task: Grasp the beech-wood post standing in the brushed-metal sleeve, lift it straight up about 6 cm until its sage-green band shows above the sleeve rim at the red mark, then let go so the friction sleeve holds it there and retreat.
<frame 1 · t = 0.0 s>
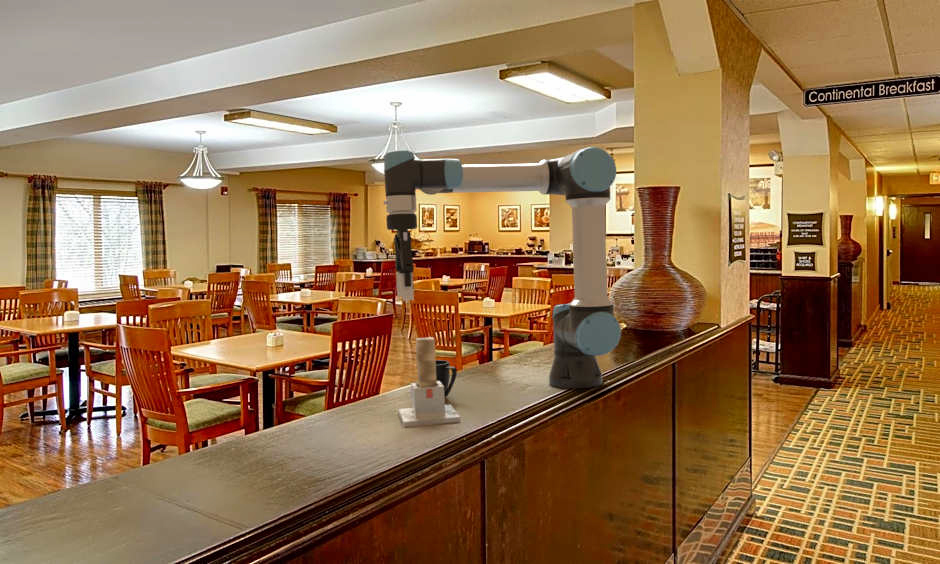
hand: (405, 298, 169), 28 cm above the table, fingers open, 13 cm apart
mug: (440, 398, 182), on the table
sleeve: (428, 417, 161), on the table
post: (426, 378, 160), point 10 cm above the table, slide at 0.0 cm
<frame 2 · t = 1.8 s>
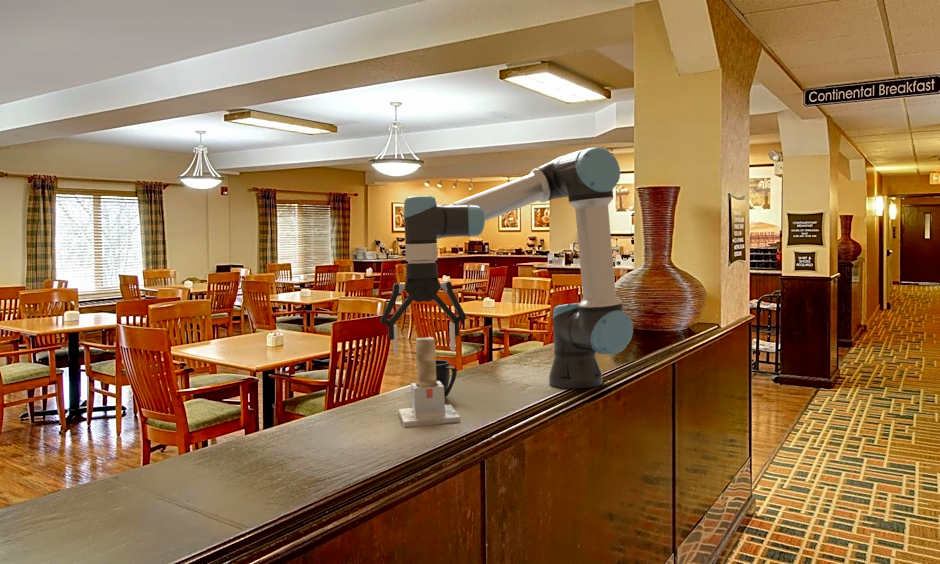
hand: (424, 351, 160), 16 cm above the table, fingers open, 13 cm apart
nothing on the table moved.
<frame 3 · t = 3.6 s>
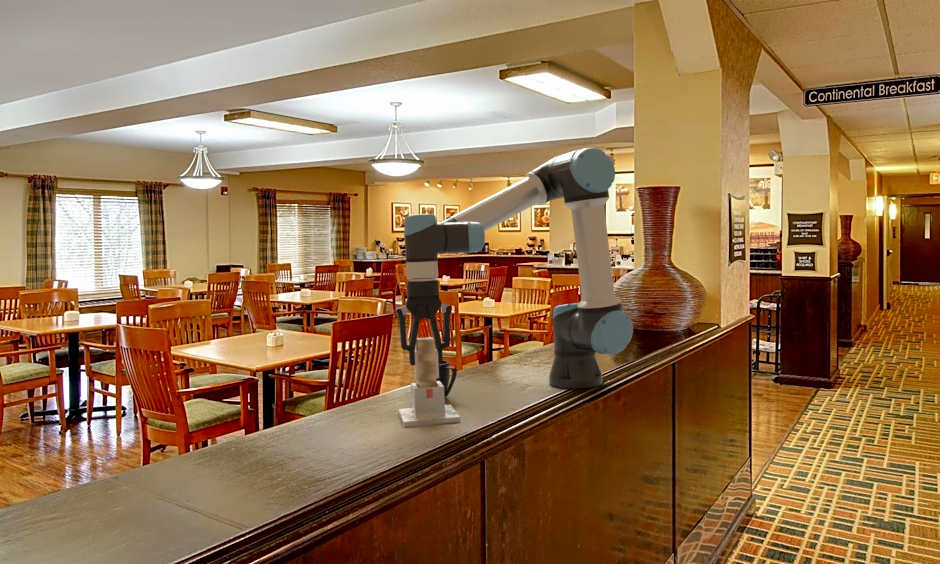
hand: (426, 377, 160), 10 cm above the table, fingers closed on post, 4 cm apart
post: (426, 378, 160), point 9 cm above the table, slide at 0.0 cm, touching gripper
everything else where it was.
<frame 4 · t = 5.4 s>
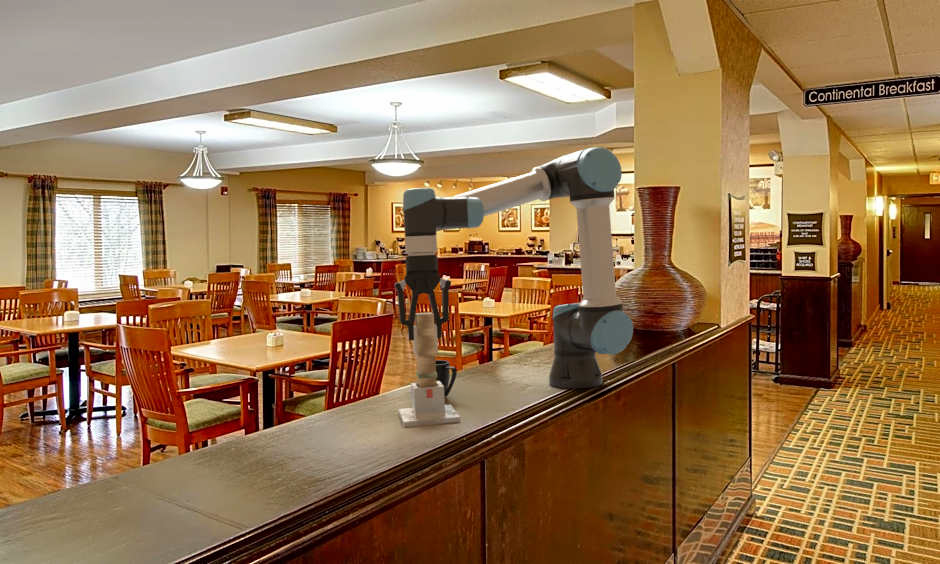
hand: (425, 352, 160), 16 cm above the table, fingers closed on post, 4 cm apart
post: (425, 353, 160), point 15 cm above the table, slide at 6.0 cm, touching gripper
everything else where it was.
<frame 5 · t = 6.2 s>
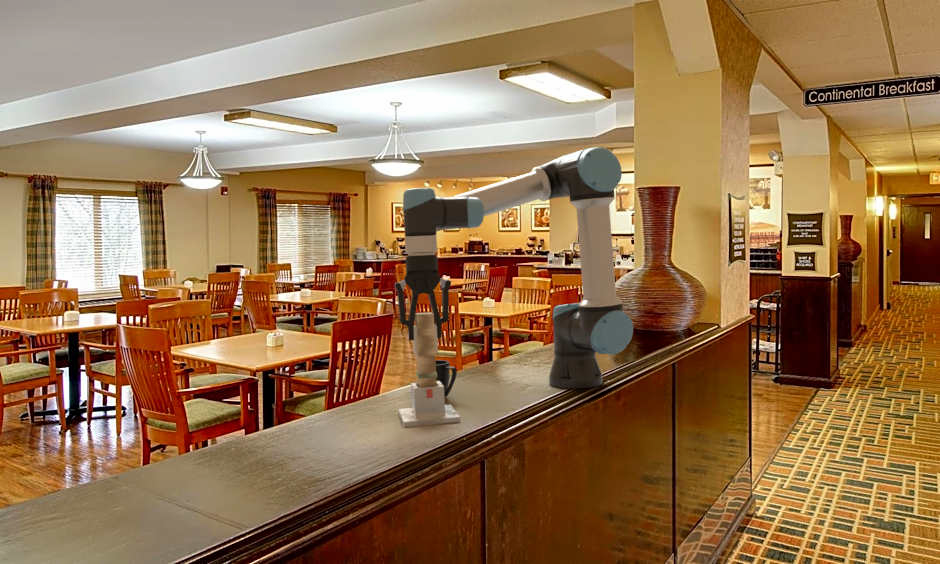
hand: (425, 352, 160), 16 cm above the table, fingers closed on post, 4 cm apart
post: (425, 353, 160), point 15 cm above the table, slide at 6.0 cm, touching gripper
everything else where it was.
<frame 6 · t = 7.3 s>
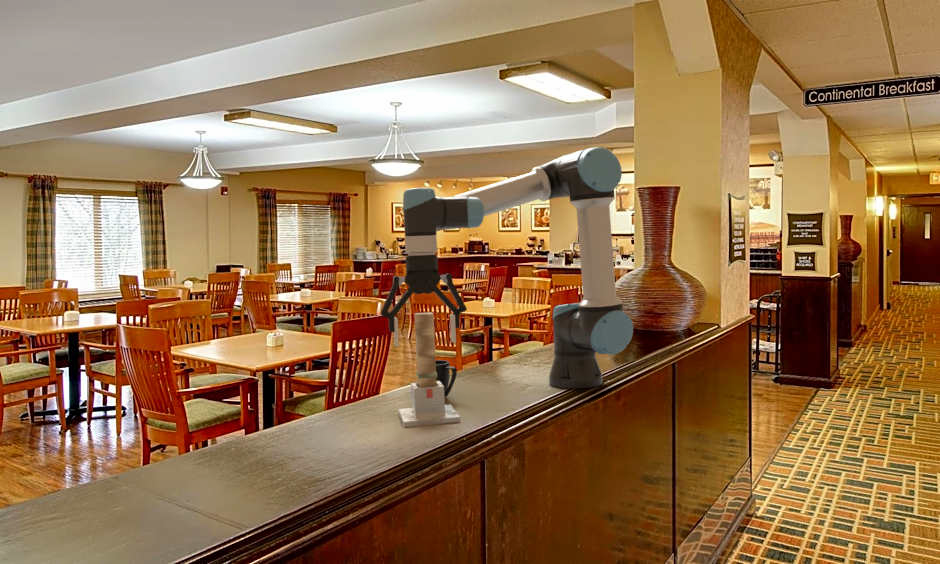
hand: (425, 344, 160), 18 cm above the table, fingers open, 13 cm apart
post: (425, 353, 160), point 15 cm above the table, slide at 6.0 cm
everything else where it was.
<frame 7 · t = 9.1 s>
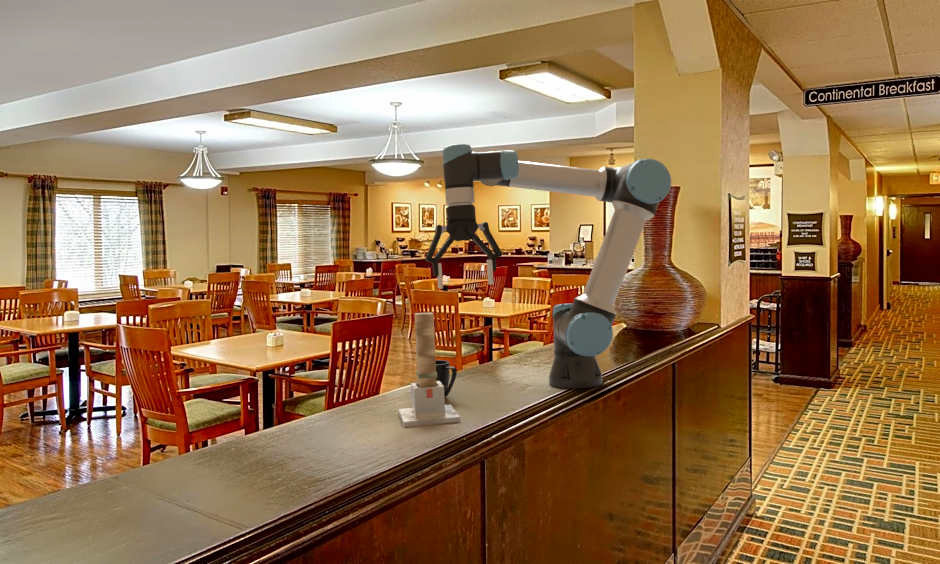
hand: (466, 286, 176), 30 cm above the table, fingers open, 13 cm apart
nothing on the table moved.
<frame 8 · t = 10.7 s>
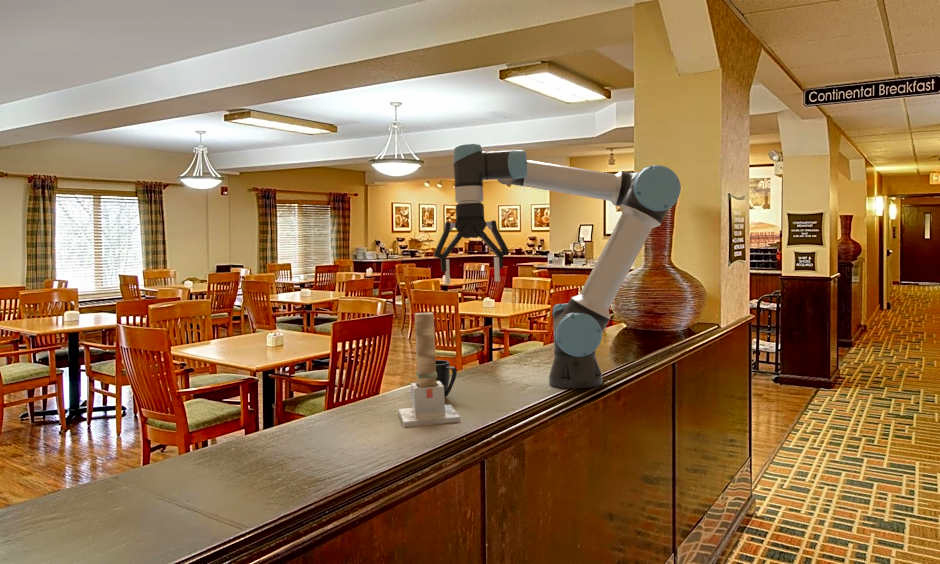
hand: (472, 282, 181), 31 cm above the table, fingers open, 13 cm apart
nothing on the table moved.
at the end: post slide at 6.0 cm; the gripper is holding nothing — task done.
